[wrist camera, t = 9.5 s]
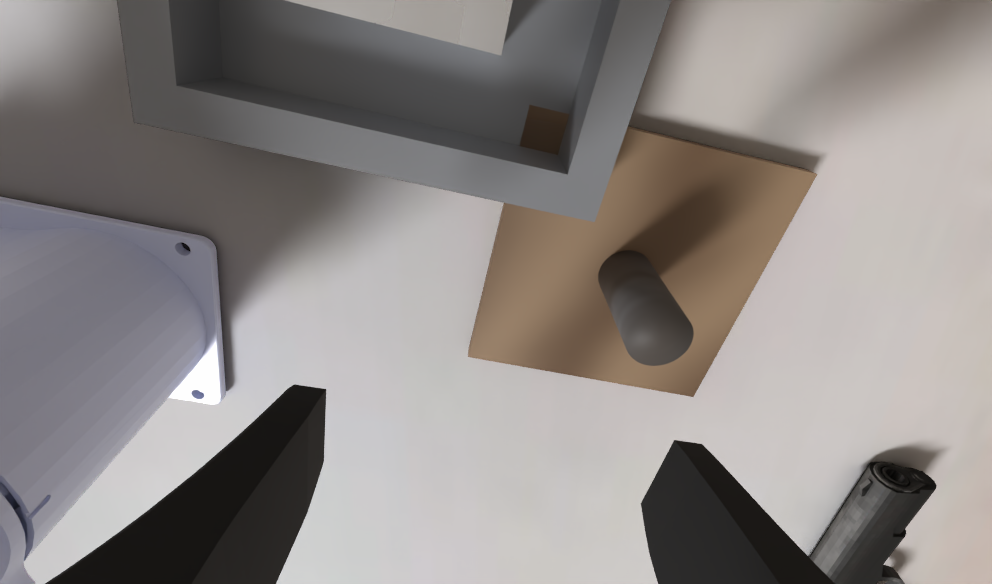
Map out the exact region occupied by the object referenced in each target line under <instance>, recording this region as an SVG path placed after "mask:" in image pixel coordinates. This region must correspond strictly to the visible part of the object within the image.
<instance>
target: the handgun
mask: <svg viewBox="0 0 992 584" xmlns="http://www.w3.org/2000/svg"><path fill="white" fill-rule="evenodd" d="M935 489H936V484H935V482H934V481H933V480H932V479H931V478H930V477H929V476H928V475H926V474H925V473H924V472H923V471H919V470H917V469H913V468H902V467H899V466H896V465H894V464H889V463H881V462H879V463H870V465H869V466H868V468H867V469H866V471H865V472H864V474H863V476H862V477H861V479H860V480H859V482H858V483H857V485H856V486H855V488H854V489H853V491H852V493H851V494H850V496H849V497H848V499H847V500H846V502H845V503H844V505H843V506H842V508H841V510H840V511H839V513H838V514H837V516H836V517H835V519H834V520H833V522H832V523H831V525H830V527H829V528H828V530H827V531H826V533H825V534H824V536H823V537H822V539H821V540H820V542H819V544H818V545H817V547H816V548H815V550H814V551H813V553H812V554H811V556H810V557H809V558H810V559H811V560H812V561H813V562H814V563H815V564H816V565H817V566H818V567H819V568H820V569H821V570H822V571H823V572H824V573H825V574H826V575H827V576H828V577H829V578H830V579H831V580H832V581H833V582H834V583H835V584H877V582H878V581H883V580H888V581H887V582H886V584H905V583H904V582H903V581H902V579H901V578H900V577H899V575H898V574H897V572H896V571H895V570H894V569H893V568H892V567H889V566H886V565H883V564H884V562H885V561H886V560H887V559H888V557H889V556H890V555H891V554H892V552H893V551H894V550H895V548H896V547H897V546H898V545H899V543H900V542H901V541H902V539H903V538H904V537H905V535H906V530H905V528H906V527H907V525H908V524H909V523H910V521H911V520H912V519H913V518H914V516H915V515H916V514H917V512H918V511H919V510H920V509H921V507H922V506H923V505H924V503H925V502H926V501H927V499H928V498H929V497H930V496H931V494H932V493H933V492H934V490H935Z"/></svg>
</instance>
